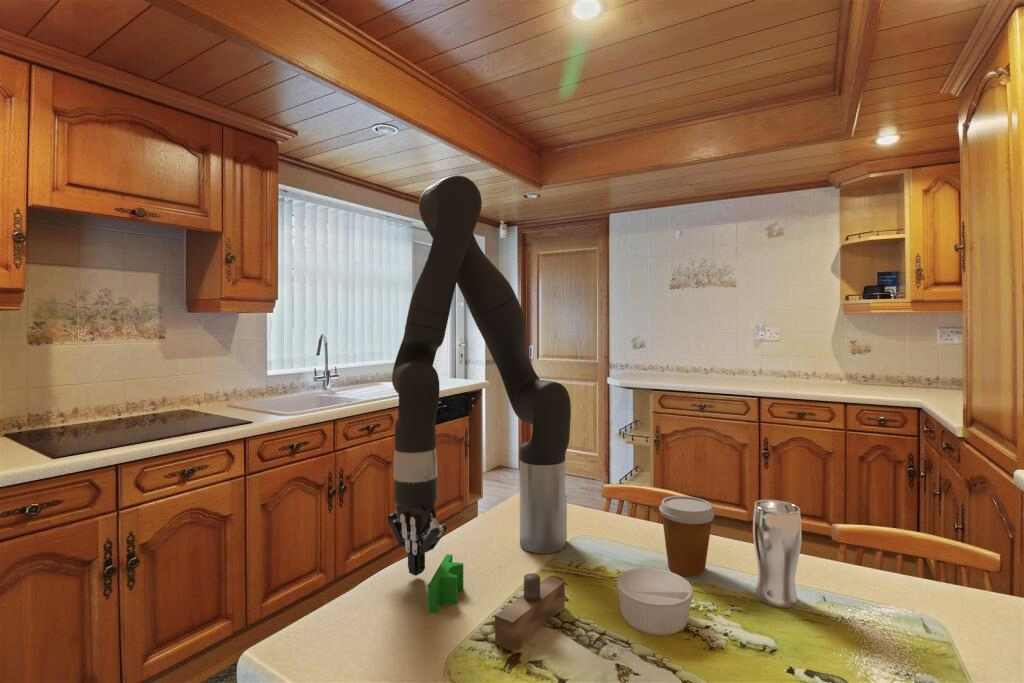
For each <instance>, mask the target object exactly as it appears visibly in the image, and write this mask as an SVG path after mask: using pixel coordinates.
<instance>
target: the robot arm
mask: <svg viewBox="0 0 1024 683" xmlns="http://www.w3.org/2000/svg"><path fill="white" fill-rule="evenodd" d="M482 203H483V201H482V196H481V191H480V189H479V188H478V186H477V184H475V183H474V182H473V180H471V179H470V178H468V177H467V176H464V175H460V174H457V175H456V174H455V175H451V176H446V177H445V178H442V179H440V180H438V181H436V182H435V183H433V184H432V185H429V186H427V187H426V188H425V189H424V191H423V192H422V193H421V195H420V197H419V201H418V211H419V215H420V218H421V220H422V222H423V224H424V226H425V228H426V230H427V232H428V233H429V234H430V237H431V238H432V242H431V246H430V249H429V253H428V256H427V258H426V261H425V264H424V265H423V268H422V271H421V272H420V275H419V277H418V280H417V282H416V284H415V287H414V289H413V293H412V296H411V298H410V303H409V306H408V311H407V317H406V321H405V322H406V323H405V326H404V334H403V338H402V340H401V343H400V346H399V349H398V352H397V356H396V358H395V361H394V365H393V368H392V374H391V375H392V376H391V381H392V382H391V383H392V386H393V389H394V391H395V392H396V393H397V394H398V417H397V419H396V421H395V424H394V457H393V502H394V504H396V508H395V511H394V512H393V513H390V514H388V515H387V518H386V519H387V521H388V524H389V526H390V528H391V530H392V533H393V534H394V538H395V539H396V541H397V543H398V546H399V547H404V548H405V552H406V553H407V568H408V573H409V574H411V575H413V576H419V575H420V574H422V573H423V572H424V571H425V569H426V553H428V552H430V551H432V550H434V549H435V548H436V546H437V544H438V543H439V542H440V541H441V539H442V537H443V536H444V535H445V533H447V532H446V531H447V528H448V527H447V526H446V524H444V523H443V524H440V522H438V520H437V512H436V509H435V504H436V502H437V500H438V494H439V493H438V489H439V488H438V456H437V448H436V447H437V438H436V437H437V433H436V432H437V430H436V418H437V413H438V406H439V398H440V379H439V374H438V372H437V369H436V368H435V367H434V364H435V363H434V362H435V358H436V354H437V350H438V349H439V348H440V347H441V346H442V345H443V342H444V340H445V337H446V332H447V326H448V322H449V317H450V313H451V307H452V302H453V298H454V293H455V290H456V287H457V286H458V288H459V290H460V292H461V295H462V297H463V298H464V300H465V303H466V306H467V308H468V310H469V313H470V314H471V316H472V319H473V320H474V323H475V325H476V327H477V329H478V330H479V333H480V334H481V336H482V338H483V340H484V342H485V344H486V346H487V349H488V351H489V354H490V355H491V357H492V359H493V362H494V364H495V366H496V367H497V370H498V372H499V375H500V378H501V379H502V383H503V386H504V389H505V391H506V394H507V397H508V400H509V403H510V405H511V407H512V410H513V412H514V414H515V416H516V417H517V418H518V419H519V420H520V421H522V422H523V423H526V424H529V425H532V426H531V427H532V430H531V439H530V440H529V441H527V442H524V443H522V444H521V445H520V448H519V545H520V547H521V548H522V549H523V550H525V551H527V552H529V553H530V552H531V553H535V554H551V553H556V552H560V551H561V550H563V549H564V548H565V547H566V541H567V538H568V536H567V535H568V532H567V529H568V528H567V524H568V523H567V521H568V520H567V519H568V518H567V514H568V513H567V512H568V510H567V509H568V508H567V503H568V502H567V500H568V499H567V494H566V453H567V450H568V447H569V445H570V439H571V437H570V434H571V417H572V416H571V415H572V414H571V413H572V405H571V404H572V402H571V398H570V394H569V392H568V389H567V388H566V387H565V386H564V385H563V384H562V383H560V382H556V381H551V380H545V379H540V377H539V376H538V375H537V373H536V371H535V369H534V367H533V365H532V363H531V360H530V358H529V355H528V352H527V344H526V343H527V339H526V338H527V322H526V317H525V313H524V311H523V309H522V306H521V304H520V302H519V300H518V298H517V297H518V296H517V295H516V292H515V291H514V289H513V287H512V285H511V284H510V282H509V281H508V279H507V278H506V277H505V275H504V274H503V273H502V272H501V270H499V269H498V268H497V267H496V265H494V263H493V262H492V261H491V260H490V259H489V258H488V257H487V256H486V255H485V253H484V252H483V250H482V249H481V247H480V245H479V243H478V241H477V239H476V237H475V235H474V232H475V228H476V226H477V223H478V221H479V217H480V216H481V215H480V214H481V211H482Z"/></svg>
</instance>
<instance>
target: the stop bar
mask: <svg viewBox="0 0 1024 683" xmlns="http://www.w3.org/2000/svg"><path fill="white" fill-rule="evenodd" d="M565 586H566V582H565V581H564V580H561V579H558V578H555V577H552V576H547V577H545V578H544V579H543V580H541V575H539V574H537V573H526V574H525V575H523V594H522V595H521V596H519V597H518V598H517V599H516V600H514V601H513V602H511V603H510V604H508V605H506V606H505V607H504V608H503V609H502V610H500V611H499V612H498V613H496V614H495V615H494V644H495V645H497V646H498V647H501V648H503V649H506V650H508V651H511V652H514V651H515V650H516V649H518V648H519V647H520V646H521V645H522V644H523V643H525V642H526V641H527V640H528V639H529V638H530V637H532V636H533V635H534V634H535V633H536V632H537V631H538V630H539V629H541V628H542V627H544V625H545V624H547V623H548V622H549V621H551V619H553V618H554V616H556V615H557V614H558V613H559V612H561V611H562V610H563V609H564V608H565V607H566V606H565V605H566V602H565V601H566V599H565V598H566V597H565V596H566V594H565V593H566V587H565Z"/></svg>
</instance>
